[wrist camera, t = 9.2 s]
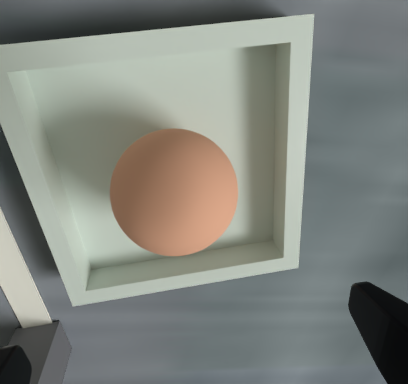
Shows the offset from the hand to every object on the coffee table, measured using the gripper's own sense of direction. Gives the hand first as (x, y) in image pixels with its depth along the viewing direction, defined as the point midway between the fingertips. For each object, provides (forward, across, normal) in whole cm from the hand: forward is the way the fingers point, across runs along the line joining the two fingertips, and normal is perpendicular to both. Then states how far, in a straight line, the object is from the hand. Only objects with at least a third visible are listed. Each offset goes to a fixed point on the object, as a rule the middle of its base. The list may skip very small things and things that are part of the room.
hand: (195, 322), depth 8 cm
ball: (+7, 0, 0) cm, 7 cm away
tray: (+11, 0, 0) cm, 11 cm away
